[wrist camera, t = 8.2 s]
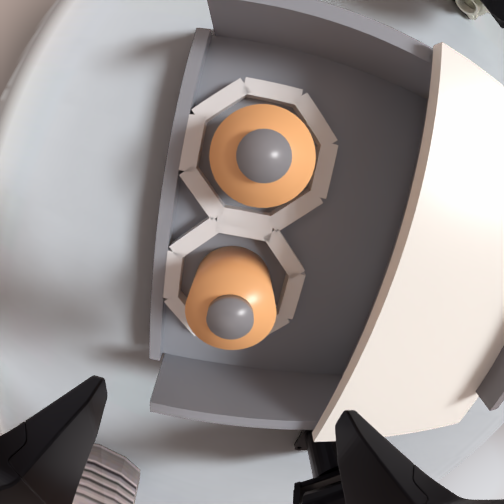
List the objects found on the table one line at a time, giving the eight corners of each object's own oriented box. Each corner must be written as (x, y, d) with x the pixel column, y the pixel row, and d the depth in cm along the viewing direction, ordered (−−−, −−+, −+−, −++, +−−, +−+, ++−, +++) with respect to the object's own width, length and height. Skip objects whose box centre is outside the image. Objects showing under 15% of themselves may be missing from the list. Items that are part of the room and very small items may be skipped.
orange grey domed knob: (289, 202, 18) (305, 220, 13) (209, 186, 17) (198, 199, 13) (306, 124, 16) (329, 117, 12) (225, 107, 16) (220, 92, 11)
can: (54, 430, 27) (24, 496, 16) (128, 448, 27) (107, 529, 16) (85, 472, 31) (66, 529, 19) (151, 486, 31) (140, 551, 20)
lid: (454, 417, 19) (470, 441, 15) (311, 433, 17) (320, 471, 14) (561, 150, 11) (591, 157, 8) (433, 45, 10) (473, 30, 6)
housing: (429, 374, 25) (456, 414, 19) (155, 352, 22) (135, 407, 16) (511, 145, 17) (560, 152, 11) (204, 26, 15) (190, -20, 9)
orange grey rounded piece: (277, 253, 19) (287, 286, 14) (261, 318, 20) (266, 361, 16) (200, 240, 18) (187, 269, 14) (192, 306, 20) (180, 348, 15)
